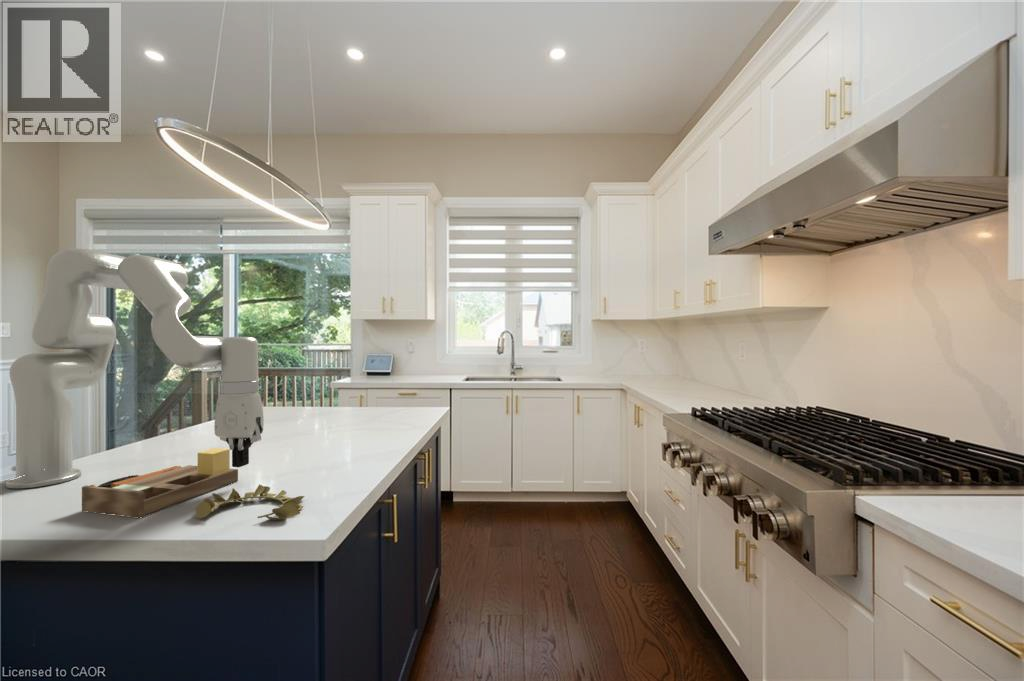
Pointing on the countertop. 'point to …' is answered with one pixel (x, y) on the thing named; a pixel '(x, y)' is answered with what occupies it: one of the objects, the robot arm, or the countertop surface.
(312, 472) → the countertop surface
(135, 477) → the toy gun
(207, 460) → the block
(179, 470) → the wooden tray
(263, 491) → the headpiece
